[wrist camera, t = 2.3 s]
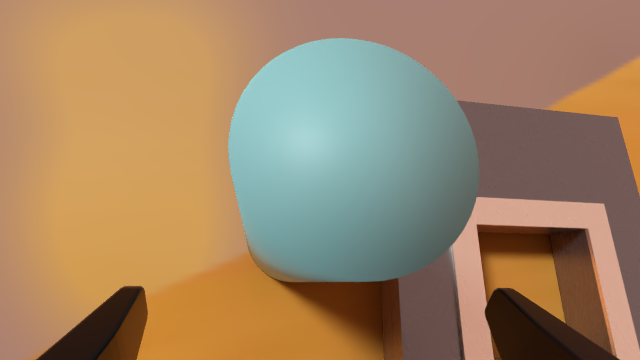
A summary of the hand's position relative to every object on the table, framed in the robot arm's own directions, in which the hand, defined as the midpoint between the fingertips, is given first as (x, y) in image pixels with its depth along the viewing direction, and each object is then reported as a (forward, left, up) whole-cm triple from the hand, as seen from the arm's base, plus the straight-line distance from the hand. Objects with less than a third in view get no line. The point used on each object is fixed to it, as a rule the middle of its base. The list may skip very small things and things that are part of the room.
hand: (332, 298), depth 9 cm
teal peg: (+3, 0, -10) cm, 10 cm away
